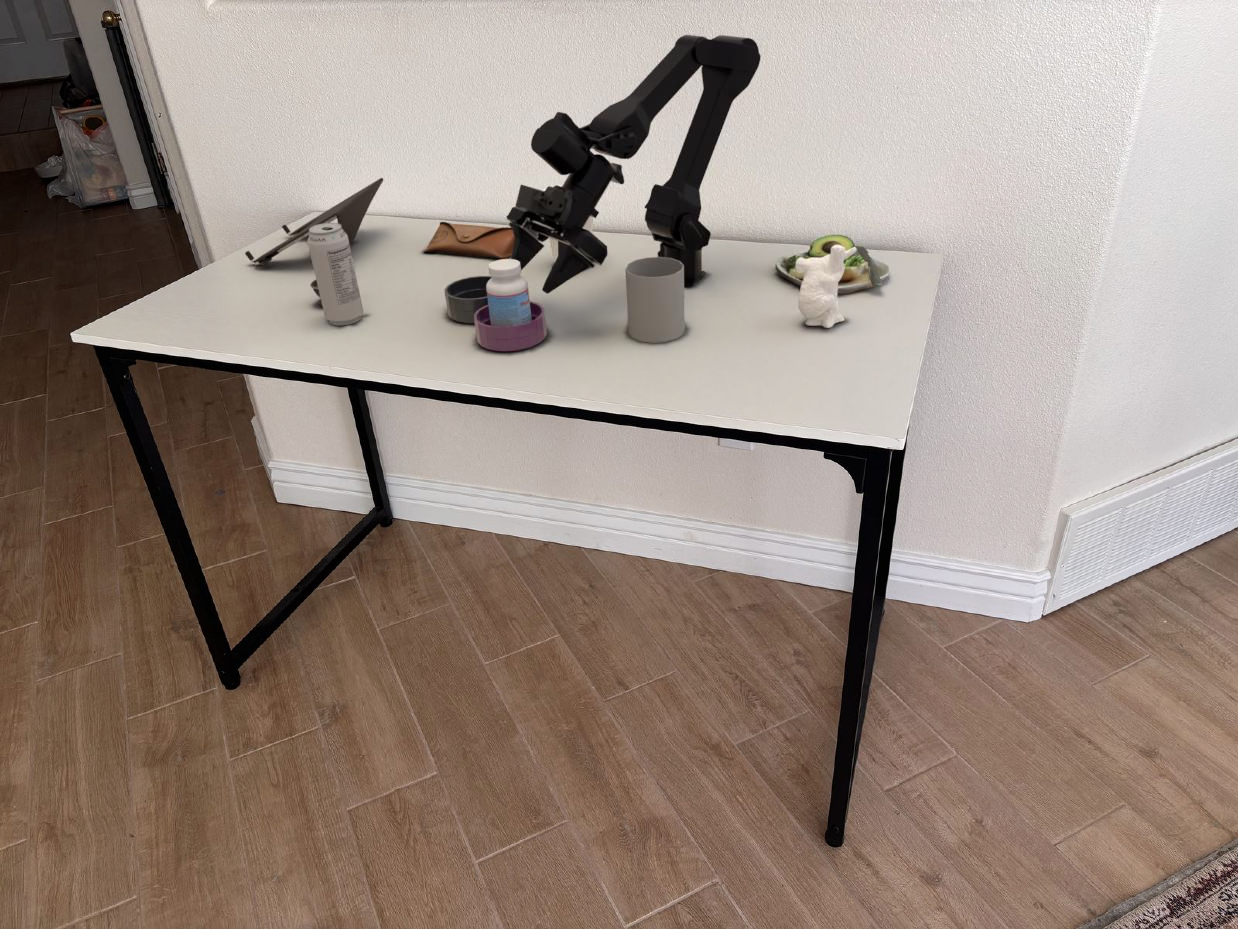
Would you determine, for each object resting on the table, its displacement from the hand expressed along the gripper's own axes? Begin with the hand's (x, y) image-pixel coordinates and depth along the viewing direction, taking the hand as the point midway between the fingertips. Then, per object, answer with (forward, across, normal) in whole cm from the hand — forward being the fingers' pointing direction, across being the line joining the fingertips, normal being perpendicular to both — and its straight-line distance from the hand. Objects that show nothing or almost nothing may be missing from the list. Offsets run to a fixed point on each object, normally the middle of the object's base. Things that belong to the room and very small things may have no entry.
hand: (527, 283), depth 137 cm
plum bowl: (+8, 0, +3) cm, 8 cm away
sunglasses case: (-4, -39, +15) cm, 42 cm away
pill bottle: (+8, 0, +3) cm, 8 cm away
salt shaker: (+18, -34, -7) cm, 39 cm away
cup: (-4, +13, +15) cm, 20 cm away
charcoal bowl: (+7, -12, +4) cm, 15 cm away
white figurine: (-17, +29, +29) cm, 44 cm away
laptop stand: (+11, -61, 0) cm, 62 cm away
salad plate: (-29, +17, +40) cm, 53 cm away
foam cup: (-10, -19, +21) cm, 30 cm away
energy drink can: (+19, -26, -8) cm, 33 cm away
